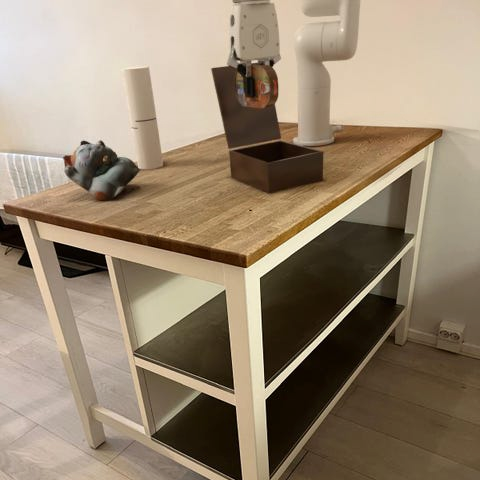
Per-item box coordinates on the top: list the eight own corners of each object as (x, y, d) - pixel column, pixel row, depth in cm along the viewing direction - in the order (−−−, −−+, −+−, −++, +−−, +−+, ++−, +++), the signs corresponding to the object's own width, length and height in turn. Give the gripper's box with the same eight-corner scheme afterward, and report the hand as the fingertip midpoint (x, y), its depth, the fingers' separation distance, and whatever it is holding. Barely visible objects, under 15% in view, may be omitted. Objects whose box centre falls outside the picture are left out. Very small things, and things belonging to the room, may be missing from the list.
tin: (235, 105, 113) (230, 65, 109) (247, 102, 114) (242, 62, 110) (270, 110, 102) (266, 66, 97) (283, 107, 103) (279, 63, 98)
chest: (323, 180, 114) (323, 151, 111) (268, 193, 109) (267, 163, 105) (281, 166, 128) (280, 140, 124) (231, 177, 122) (229, 150, 119)
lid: (267, 61, 119) (265, 62, 120) (212, 67, 113) (210, 68, 114) (281, 138, 124) (280, 138, 125) (229, 148, 118) (228, 149, 119)
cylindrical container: (158, 169, 134) (142, 68, 121) (134, 169, 136) (116, 69, 123) (166, 162, 140) (152, 65, 127) (143, 163, 142) (127, 67, 129)
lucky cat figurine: (108, 204, 109) (65, 150, 104) (86, 215, 119) (46, 166, 113) (149, 169, 117) (112, 117, 111) (126, 182, 126) (90, 134, 120)
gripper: (225, -4, 91) (232, 102, 101) (295, -8, 98) (296, 92, 107) (207, -1, 97) (216, 99, 107) (274, -4, 103) (277, 90, 113)
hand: (256, 95), depth 107 cm, fingers closed on tin, 2 cm apart
